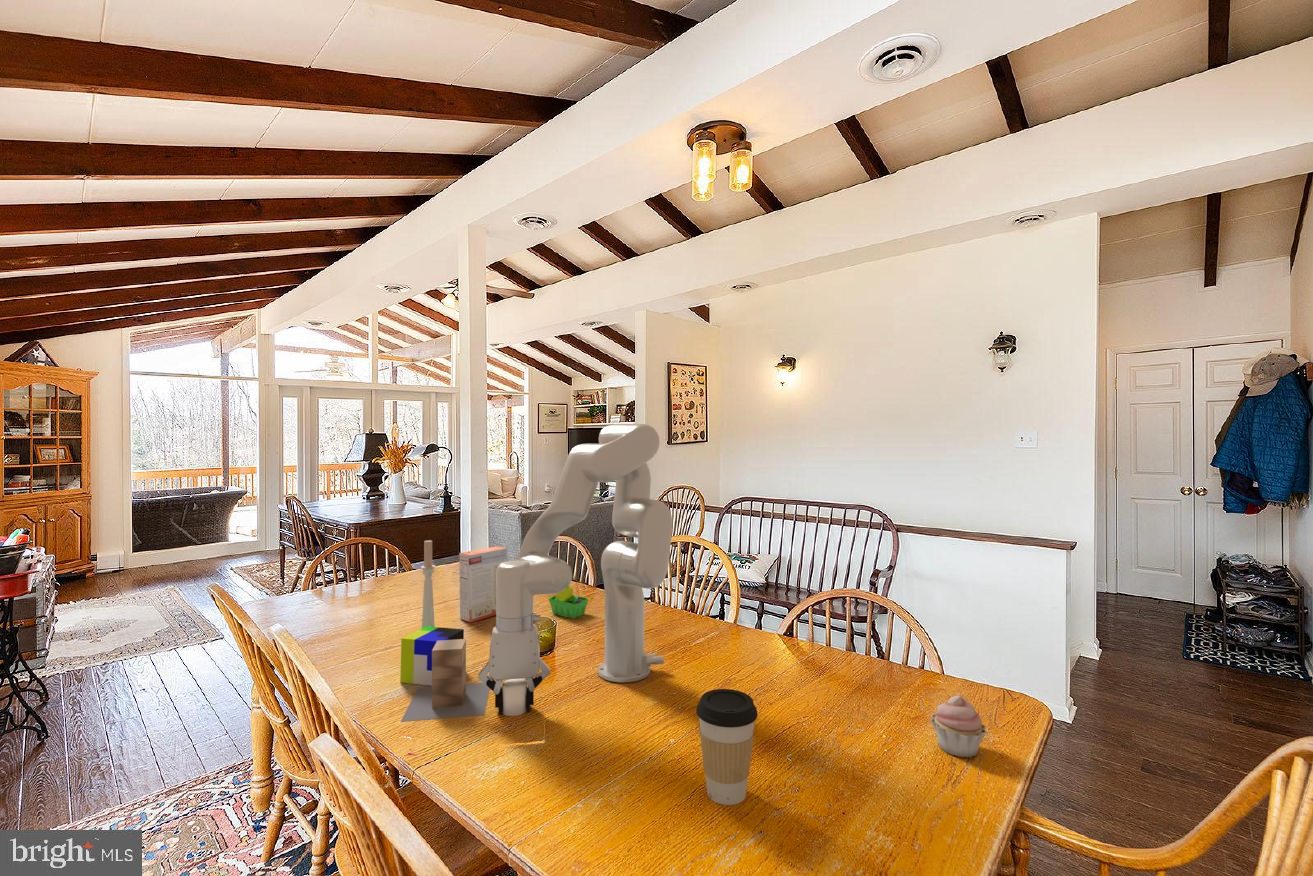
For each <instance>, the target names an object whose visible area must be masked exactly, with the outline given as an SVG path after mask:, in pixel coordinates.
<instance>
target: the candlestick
mask: <svg viewBox="0 0 1313 876" xmlns="http://www.w3.org/2000/svg"><path fill="white" fill-rule="evenodd" d="M423 552H424V553H423V565H421V566H420V568H421V569H422V574H423V576H424V580H423V595H422V596H423V597H422V598H423V599H422V612H421V613H422V614H421V615H422V617H421V629H422V628H425V627H427V626H428V627H436V626H435V611H434V610H435V609H434V608H435V607H434V606H435V605H434V592H433V591H434V590H433V578H432V576H433V574H434V568H435V567H436V565H434V564H433V540H430V539H427V540H424V542H423Z"/></svg>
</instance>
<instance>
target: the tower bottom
mask: <svg viewBox="0 0 1313 876" xmlns="http://www.w3.org/2000/svg"><path fill="white" fill-rule="evenodd" d="M466 676H467V666H466V667H465V670H464V673H463V676H462V677H458V678H444V679H432V708H438V707H451V706H462V704H463V701H464V698H465V694H466V684H467V677H466Z"/></svg>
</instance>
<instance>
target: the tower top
mask: <svg viewBox="0 0 1313 876" xmlns="http://www.w3.org/2000/svg"><path fill="white" fill-rule="evenodd" d="M465 667H466V668H467V639H466V638H464V639H456V640H439V641H437V642H436V644H435V646H434V648H433V650H432V679H444V678H458V677H462V676H463V673H464V670H465Z"/></svg>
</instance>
